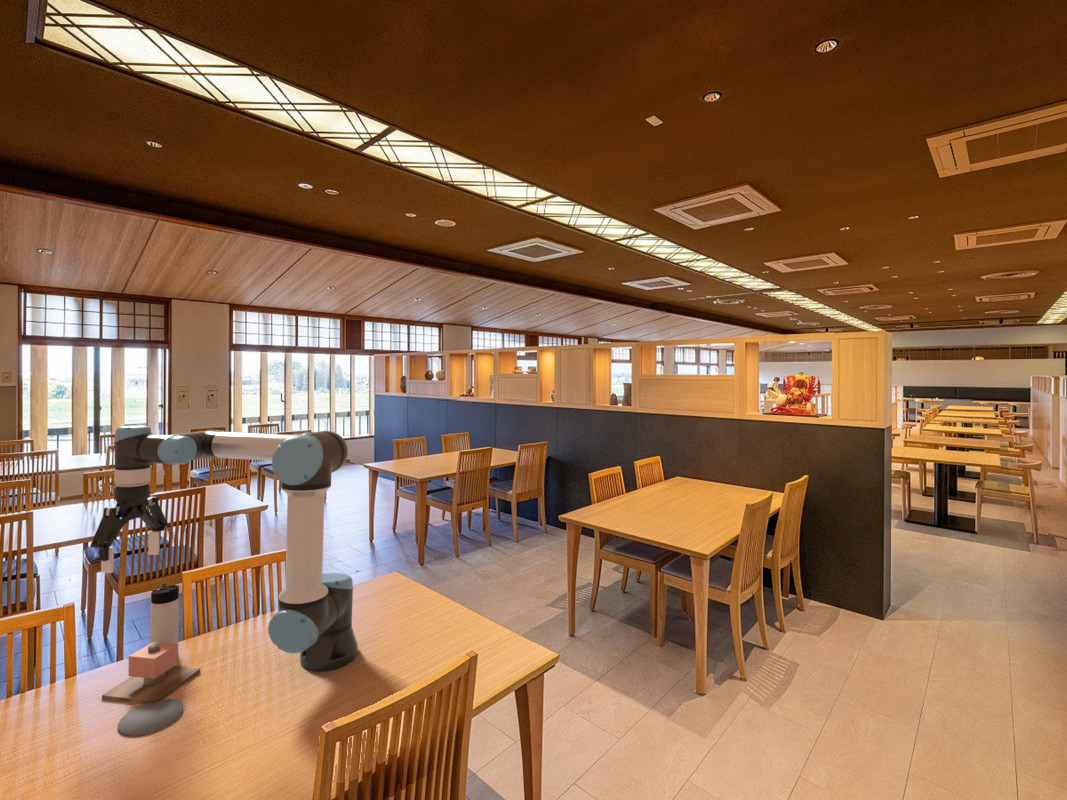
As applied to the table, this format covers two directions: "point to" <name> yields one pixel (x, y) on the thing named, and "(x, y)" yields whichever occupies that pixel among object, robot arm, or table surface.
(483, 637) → the table surface
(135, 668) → the pink block with knob
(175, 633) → the travel mug
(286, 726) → the table surface
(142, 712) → the mat
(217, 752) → the table surface
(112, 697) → the brown wooden stand
